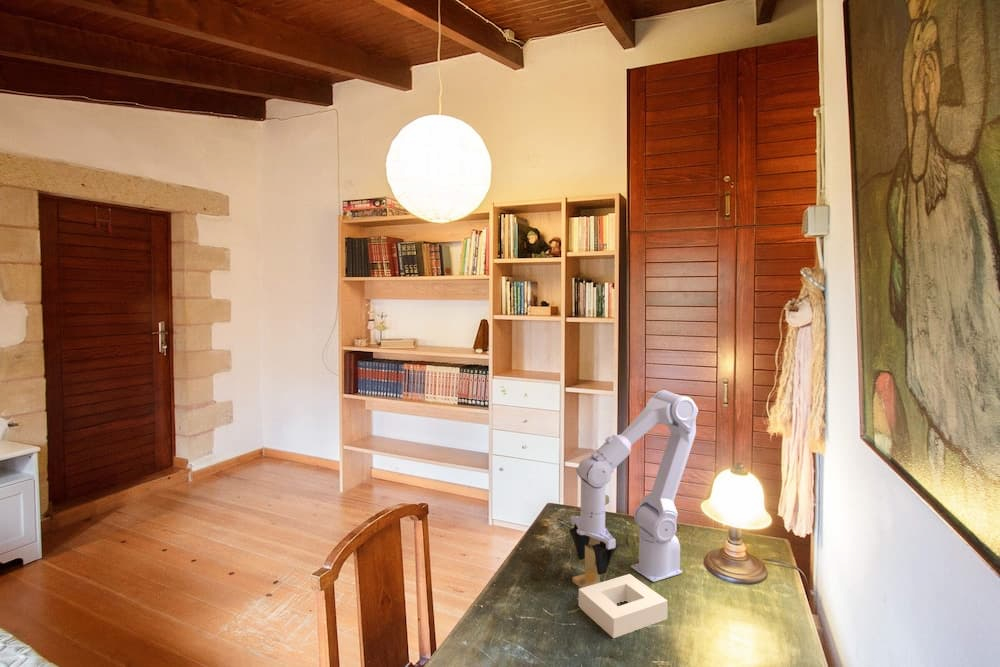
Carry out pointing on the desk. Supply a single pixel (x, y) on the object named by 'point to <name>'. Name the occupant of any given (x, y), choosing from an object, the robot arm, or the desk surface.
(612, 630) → the well block
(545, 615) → the desk surface
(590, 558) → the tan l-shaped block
